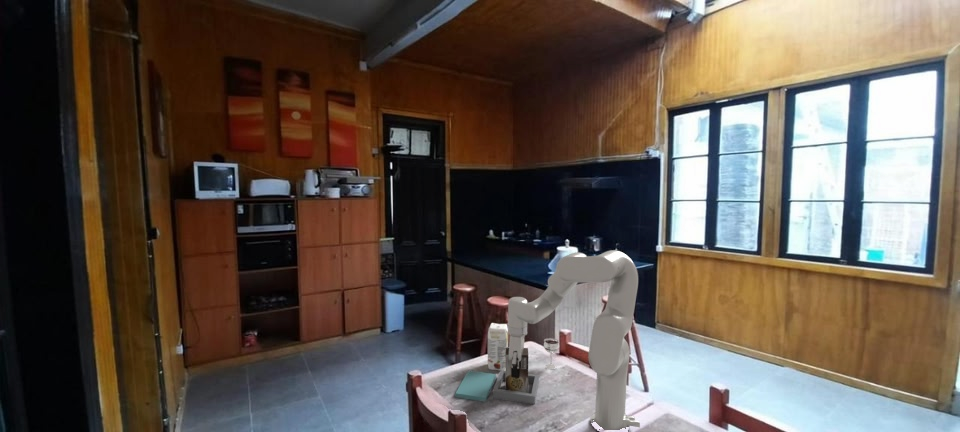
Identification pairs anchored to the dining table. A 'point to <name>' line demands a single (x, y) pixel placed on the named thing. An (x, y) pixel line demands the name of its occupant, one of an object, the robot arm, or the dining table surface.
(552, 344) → the wineglass
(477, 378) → the board
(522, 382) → the cookie box
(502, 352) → the juice carton
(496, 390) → the holder
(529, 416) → the dining table surface
